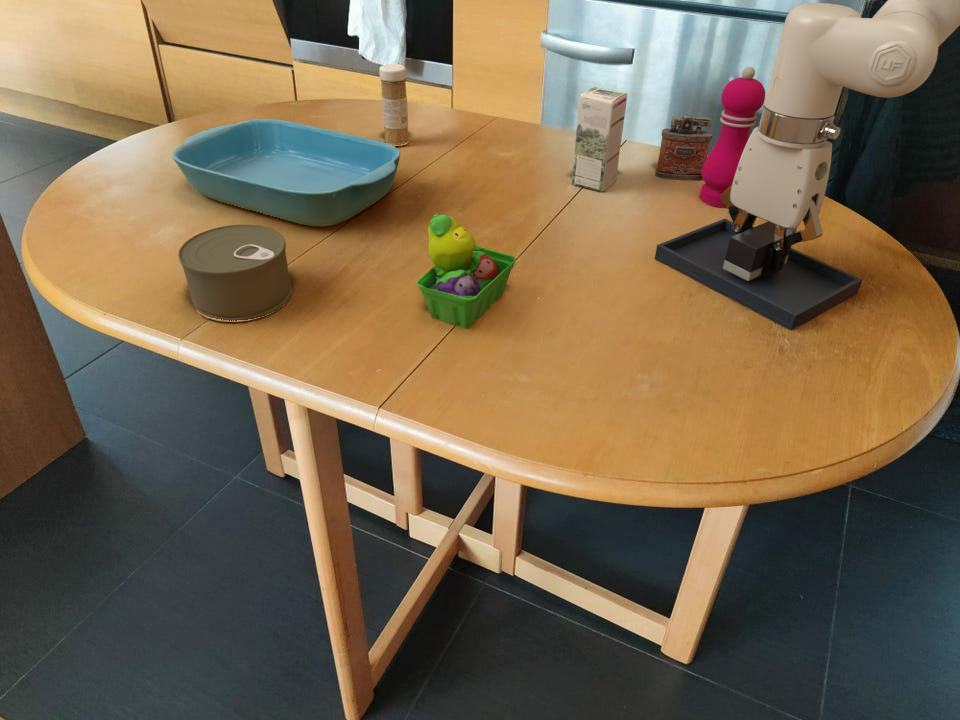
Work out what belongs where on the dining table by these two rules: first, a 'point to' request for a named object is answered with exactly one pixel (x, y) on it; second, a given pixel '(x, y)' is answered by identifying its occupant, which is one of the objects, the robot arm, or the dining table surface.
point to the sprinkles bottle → (394, 103)
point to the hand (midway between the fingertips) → (754, 264)
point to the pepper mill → (731, 135)
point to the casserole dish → (289, 169)
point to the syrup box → (598, 138)
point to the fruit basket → (461, 274)
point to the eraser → (750, 251)
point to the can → (236, 271)
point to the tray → (760, 277)
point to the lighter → (684, 149)
